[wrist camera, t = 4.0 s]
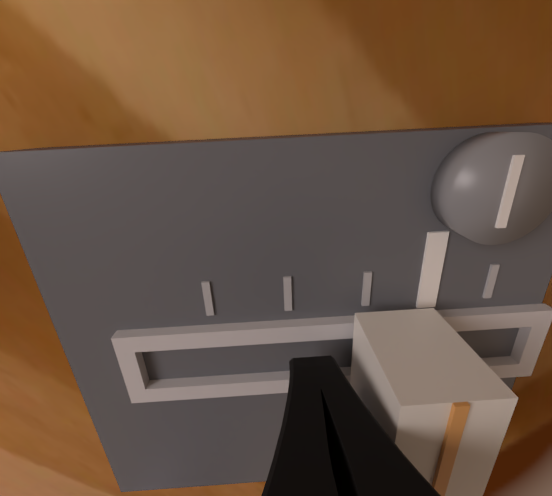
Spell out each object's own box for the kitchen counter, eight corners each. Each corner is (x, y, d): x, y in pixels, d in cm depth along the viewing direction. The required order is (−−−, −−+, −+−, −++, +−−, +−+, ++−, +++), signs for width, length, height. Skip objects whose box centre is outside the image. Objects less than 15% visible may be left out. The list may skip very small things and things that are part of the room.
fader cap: (410, 393, 11) (478, 517, 7) (345, 398, 11) (384, 525, 7) (426, 300, 9) (522, 402, 6) (351, 305, 9) (403, 410, 6)
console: (459, 422, 15) (506, 492, 12) (139, 445, 15) (109, 523, 12) (542, 122, 10) (659, 121, 7) (40, 148, 9) (-60, 156, 6)
